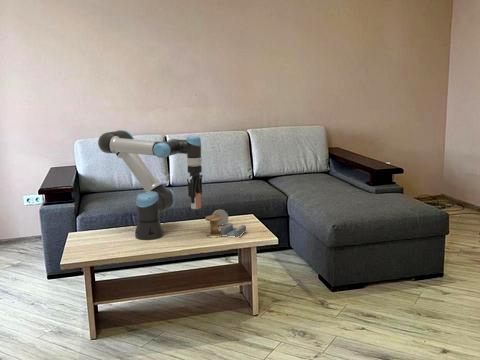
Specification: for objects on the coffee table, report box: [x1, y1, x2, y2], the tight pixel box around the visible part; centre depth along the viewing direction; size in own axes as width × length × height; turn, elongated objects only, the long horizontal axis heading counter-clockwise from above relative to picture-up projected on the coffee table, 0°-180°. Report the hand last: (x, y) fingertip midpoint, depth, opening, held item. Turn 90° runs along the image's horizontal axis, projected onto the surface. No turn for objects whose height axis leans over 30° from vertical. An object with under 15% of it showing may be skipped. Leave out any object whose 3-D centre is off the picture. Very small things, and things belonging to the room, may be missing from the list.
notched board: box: [220, 223, 247, 237], centre depth 271 cm, size 10×11×4 cm
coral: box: [211, 209, 229, 226], centre depth 290 cm, size 10×10×10 cm
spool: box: [205, 214, 222, 237], centre depth 270 cm, size 9×9×10 cm
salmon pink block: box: [195, 192, 202, 210], centre depth 272 cm, size 4×4×8 cm
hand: (195, 207), depth 272 cm, fingers closed on salmon pink block, 4 cm apart
